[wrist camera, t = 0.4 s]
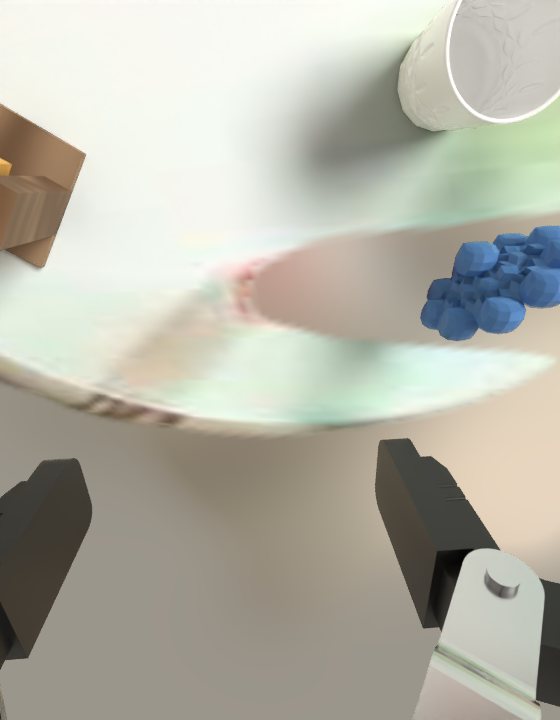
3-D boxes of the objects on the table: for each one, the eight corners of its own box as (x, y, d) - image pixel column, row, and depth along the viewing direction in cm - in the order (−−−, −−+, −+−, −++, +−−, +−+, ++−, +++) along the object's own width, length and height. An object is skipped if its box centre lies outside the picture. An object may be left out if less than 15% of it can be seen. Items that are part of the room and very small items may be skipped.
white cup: (392, 148, 33) (446, 136, 24) (385, 28, 29) (443, -41, 20) (490, 128, 32) (582, 108, 23) (493, 5, 29) (601, -75, 20)
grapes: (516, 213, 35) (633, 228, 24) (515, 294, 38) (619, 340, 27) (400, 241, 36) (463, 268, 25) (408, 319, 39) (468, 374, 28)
